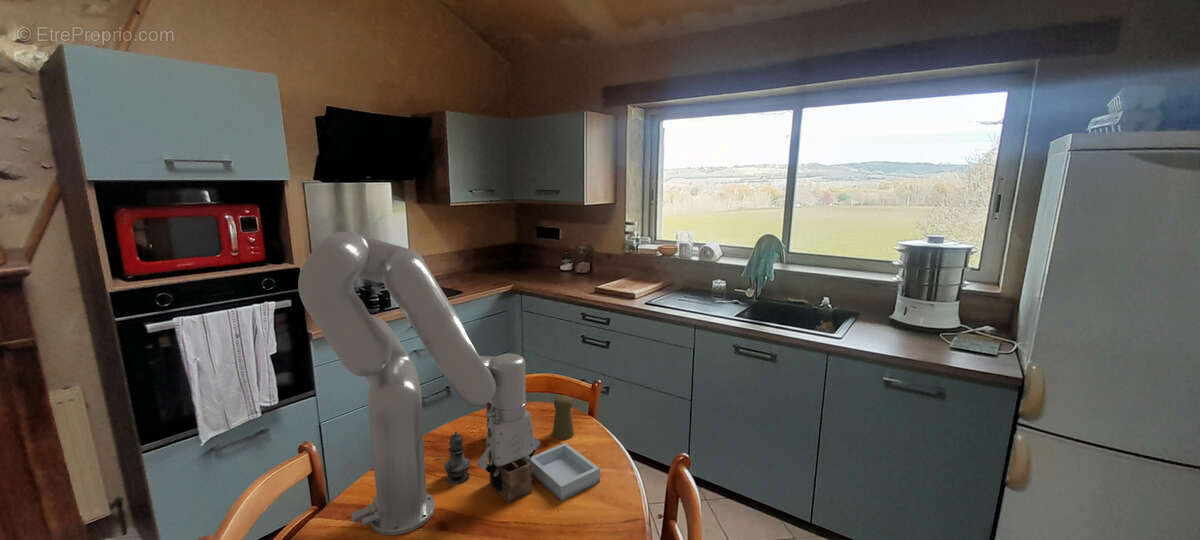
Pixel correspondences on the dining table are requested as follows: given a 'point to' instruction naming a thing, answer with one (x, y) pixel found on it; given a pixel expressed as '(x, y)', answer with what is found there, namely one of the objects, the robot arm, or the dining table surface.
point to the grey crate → (564, 471)
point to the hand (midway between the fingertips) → (510, 482)
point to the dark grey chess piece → (457, 461)
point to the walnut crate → (515, 479)
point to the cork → (563, 418)
